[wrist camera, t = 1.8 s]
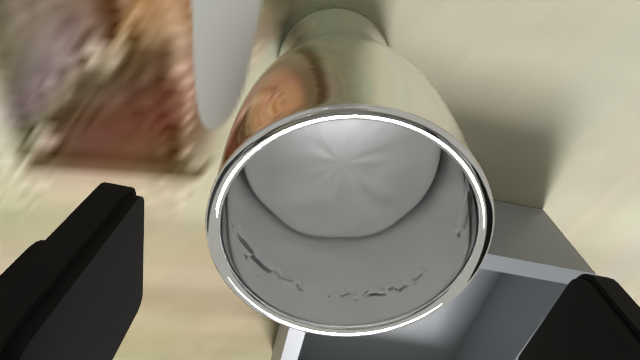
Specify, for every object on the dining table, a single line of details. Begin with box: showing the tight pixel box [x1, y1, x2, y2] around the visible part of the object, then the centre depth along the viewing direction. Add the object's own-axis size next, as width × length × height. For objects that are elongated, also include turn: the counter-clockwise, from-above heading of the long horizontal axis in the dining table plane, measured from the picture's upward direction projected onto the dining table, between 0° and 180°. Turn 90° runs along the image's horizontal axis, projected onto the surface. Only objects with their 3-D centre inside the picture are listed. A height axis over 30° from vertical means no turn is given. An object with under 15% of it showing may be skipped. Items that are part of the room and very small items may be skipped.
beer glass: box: [205, 8, 494, 337], centre depth 16 cm, size 7×7×15 cm
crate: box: [271, 200, 595, 360], centre depth 28 cm, size 18×15×6 cm
